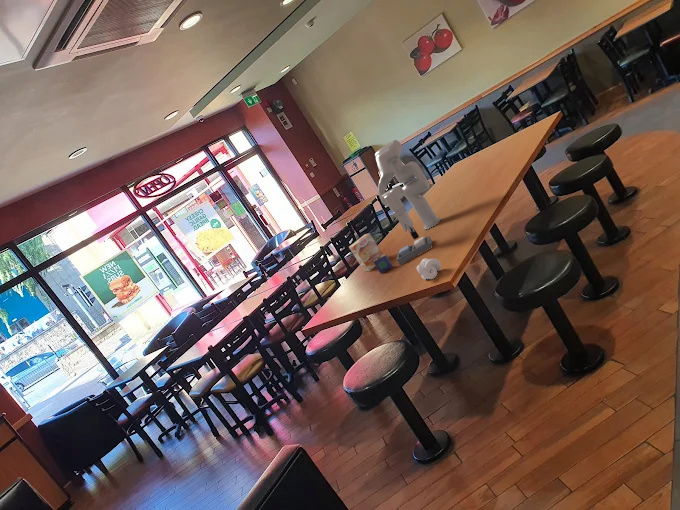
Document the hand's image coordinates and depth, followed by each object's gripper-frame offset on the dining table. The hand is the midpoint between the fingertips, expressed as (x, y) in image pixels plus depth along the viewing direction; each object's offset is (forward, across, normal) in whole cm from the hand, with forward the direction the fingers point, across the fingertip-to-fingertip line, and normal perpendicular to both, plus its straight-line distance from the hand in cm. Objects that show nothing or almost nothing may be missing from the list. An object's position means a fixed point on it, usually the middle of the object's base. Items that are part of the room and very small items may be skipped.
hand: (416, 237), depth 297 cm
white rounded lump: (+9, +50, +7) cm, 51 cm away
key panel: (+8, 0, -5) cm, 9 cm away
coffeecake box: (+8, -22, -37) cm, 44 cm away
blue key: (+5, 0, -10) cm, 11 cm away
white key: (+5, 0, 0) cm, 5 cm away
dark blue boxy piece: (+8, +2, -25) cm, 26 cm away
